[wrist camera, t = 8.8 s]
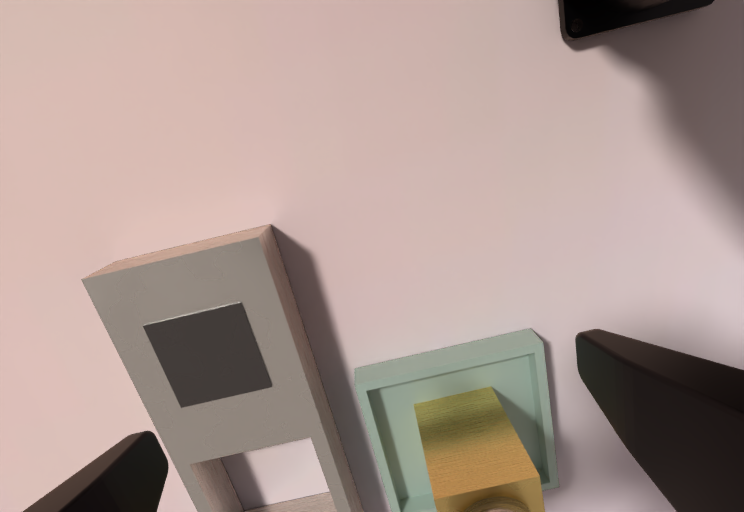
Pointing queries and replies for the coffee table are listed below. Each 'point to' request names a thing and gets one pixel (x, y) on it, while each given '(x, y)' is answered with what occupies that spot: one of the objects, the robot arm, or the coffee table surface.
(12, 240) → the coffee table surface
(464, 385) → the parts tray
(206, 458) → the grey slotted plate
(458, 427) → the brass block with knob
